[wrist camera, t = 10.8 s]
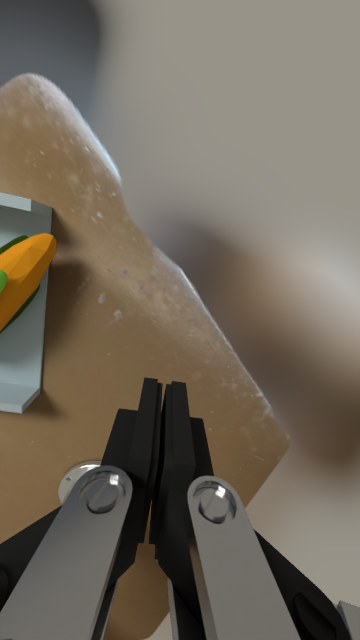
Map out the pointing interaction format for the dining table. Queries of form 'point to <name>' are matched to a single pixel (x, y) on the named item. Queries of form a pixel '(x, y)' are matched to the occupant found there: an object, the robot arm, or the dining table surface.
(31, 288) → the corn
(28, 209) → the tray
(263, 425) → the dining table surface
